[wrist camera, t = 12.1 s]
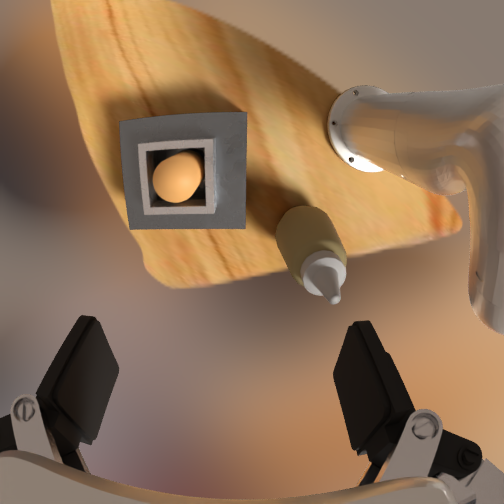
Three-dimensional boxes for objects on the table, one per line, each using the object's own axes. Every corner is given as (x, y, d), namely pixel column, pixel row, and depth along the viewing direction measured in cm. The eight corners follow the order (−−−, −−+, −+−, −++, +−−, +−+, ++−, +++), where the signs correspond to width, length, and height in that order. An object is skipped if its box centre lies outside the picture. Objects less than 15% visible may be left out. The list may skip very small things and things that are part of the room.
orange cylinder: (209, 147, 32) (198, 156, 24) (209, 182, 34) (198, 203, 26) (173, 148, 31) (151, 157, 23) (174, 183, 34) (153, 203, 25)
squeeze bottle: (271, 199, 38) (291, 263, 22) (327, 196, 38) (381, 256, 22) (273, 250, 42) (290, 335, 26) (325, 247, 42) (366, 326, 26)
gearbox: (246, 113, 33) (247, 111, 23) (245, 207, 38) (245, 237, 29) (143, 119, 32) (109, 122, 23) (149, 208, 38) (121, 238, 29)
